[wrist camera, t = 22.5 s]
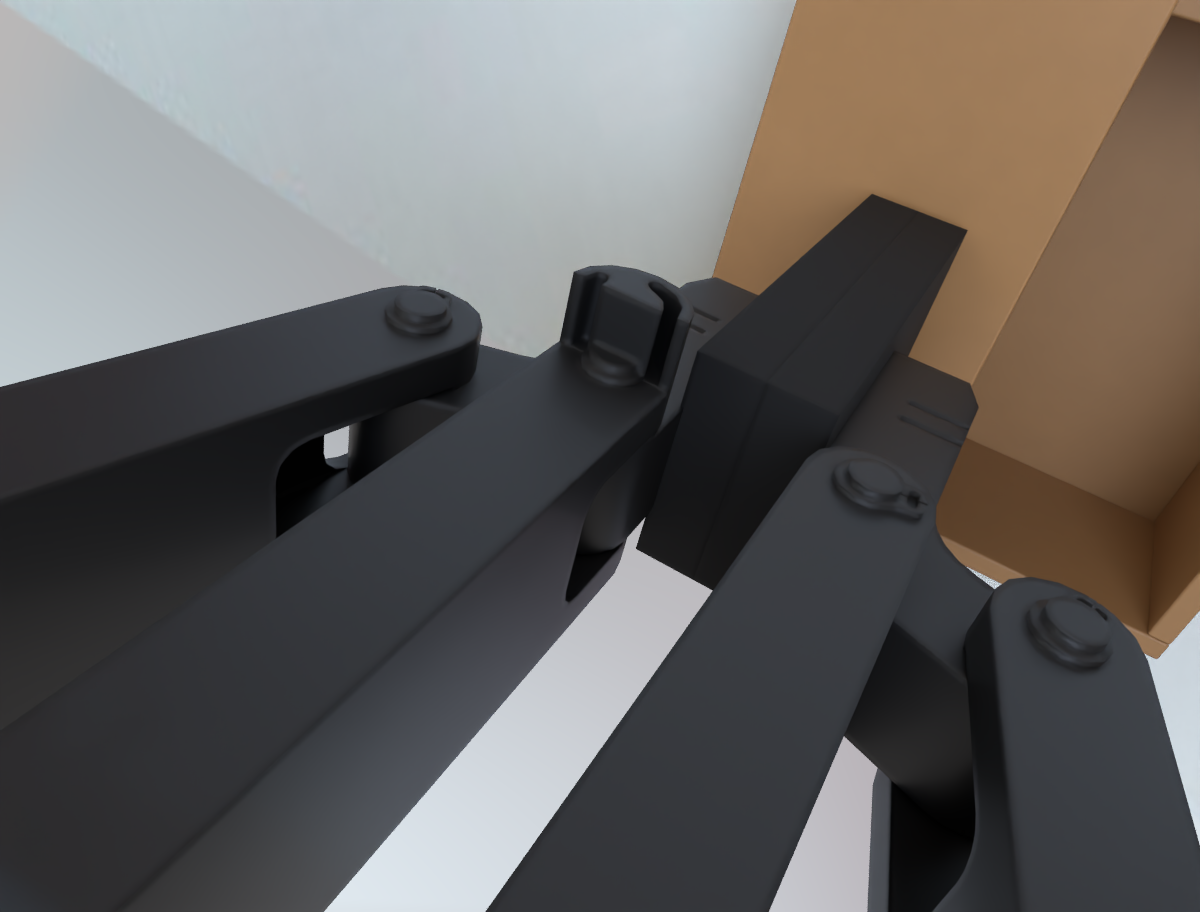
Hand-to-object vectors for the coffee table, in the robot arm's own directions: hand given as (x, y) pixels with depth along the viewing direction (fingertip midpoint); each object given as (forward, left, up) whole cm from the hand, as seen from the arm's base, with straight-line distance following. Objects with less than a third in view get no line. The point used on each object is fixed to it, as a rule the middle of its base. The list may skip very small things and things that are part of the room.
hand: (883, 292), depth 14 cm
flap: (-1, 0, -1) cm, 1 cm away
